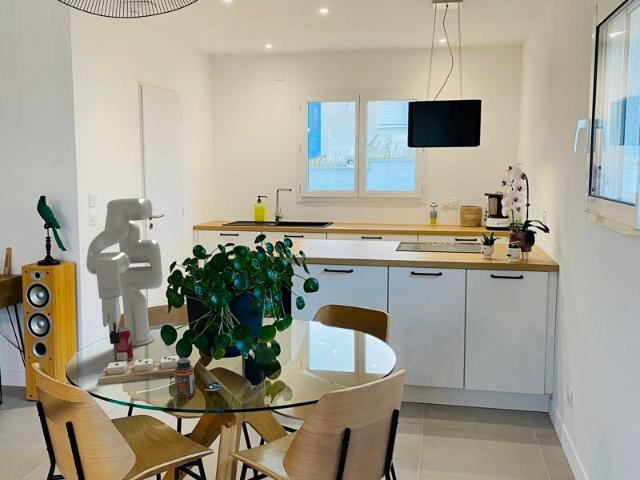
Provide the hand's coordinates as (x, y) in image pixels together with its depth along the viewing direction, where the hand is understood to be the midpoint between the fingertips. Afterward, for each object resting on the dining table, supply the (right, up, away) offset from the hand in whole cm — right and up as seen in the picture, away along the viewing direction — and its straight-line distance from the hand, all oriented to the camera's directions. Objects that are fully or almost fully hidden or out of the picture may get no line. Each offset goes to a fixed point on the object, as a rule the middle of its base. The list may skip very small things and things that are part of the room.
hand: (115, 342), depth 215 cm
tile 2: (+9, -11, +2) cm, 15 cm away
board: (+9, -11, +2) cm, 15 cm away
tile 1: (+1, -12, +1) cm, 12 cm away
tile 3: (+18, -10, +4) cm, 21 cm away
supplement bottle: (+29, -13, -20) cm, 38 cm away
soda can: (-3, -10, +18) cm, 21 cm away
